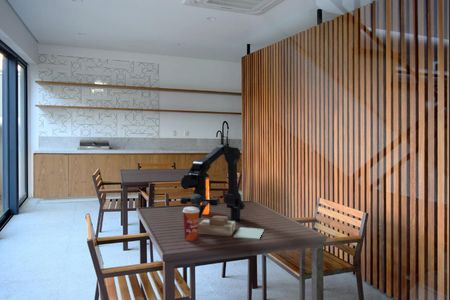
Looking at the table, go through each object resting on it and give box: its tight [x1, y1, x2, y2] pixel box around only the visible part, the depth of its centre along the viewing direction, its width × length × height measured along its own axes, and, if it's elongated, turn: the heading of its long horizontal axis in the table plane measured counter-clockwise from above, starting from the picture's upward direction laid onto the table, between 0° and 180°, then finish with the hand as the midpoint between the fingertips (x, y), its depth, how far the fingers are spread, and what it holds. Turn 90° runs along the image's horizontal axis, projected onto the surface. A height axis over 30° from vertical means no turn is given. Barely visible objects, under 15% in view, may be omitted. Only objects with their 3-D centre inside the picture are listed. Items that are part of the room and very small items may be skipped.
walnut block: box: [209, 215, 229, 226], centre depth 177 cm, size 9×7×2 cm
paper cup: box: [182, 206, 200, 242], centre depth 165 cm, size 8×8×14 cm
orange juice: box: [192, 178, 210, 215], centre depth 216 cm, size 8×9×20 cm
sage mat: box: [233, 227, 265, 240], centre depth 174 cm, size 16×12×1 cm
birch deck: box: [198, 218, 237, 237], centre depth 178 cm, size 12×16×4 cm
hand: (200, 218), depth 179 cm, fingers closed
